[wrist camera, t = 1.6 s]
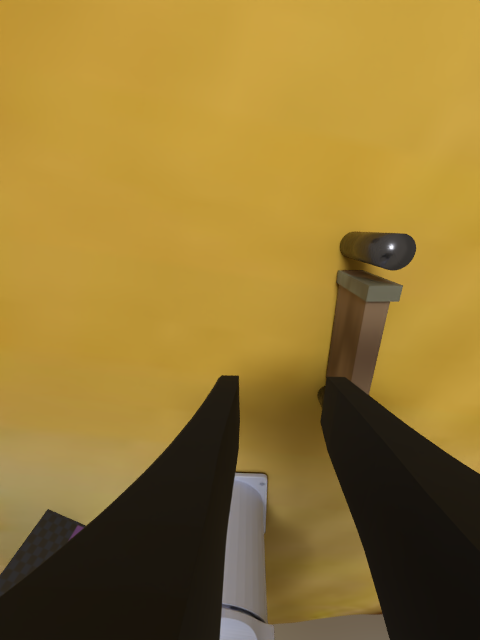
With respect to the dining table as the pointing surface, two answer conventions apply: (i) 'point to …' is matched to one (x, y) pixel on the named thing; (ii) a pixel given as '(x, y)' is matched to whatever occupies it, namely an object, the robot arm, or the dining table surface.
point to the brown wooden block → (359, 325)
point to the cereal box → (39, 547)
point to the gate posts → (377, 255)
